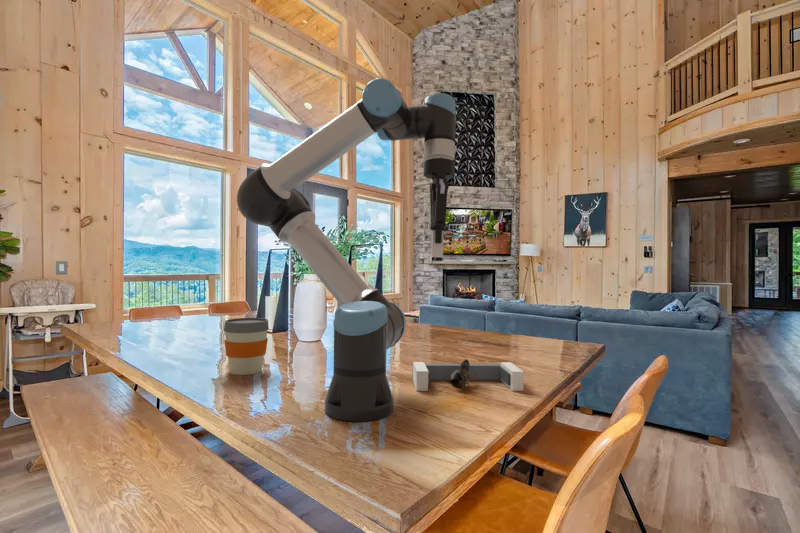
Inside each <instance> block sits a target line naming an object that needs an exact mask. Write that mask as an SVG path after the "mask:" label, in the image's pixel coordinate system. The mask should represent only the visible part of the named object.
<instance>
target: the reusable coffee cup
mask: <svg viewBox="0 0 800 533" xmlns="http://www.w3.org/2000/svg"><path fill="white" fill-rule="evenodd" d="M223 326H224V327H223V332H224V335H225V337H224V338H225V339H224V347H225V349H224V350H225V357H227V360H228V361H227V362H228V369H229V370H228V371H229V373H230V374H232V375H235V376H236V375H237V376H245V375H247V376H248V375H255V374H259V373H260V372H262V370H263V365H264V358H265V357H264V356H265V355H266V354H267V345H268V340H269V339H268V337H267V336H268V331H269V330H270V328H269V319H268V318H263V317H239V318H238V317H236V318H230V319H226V320H224V325H223Z"/></svg>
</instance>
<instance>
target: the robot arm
mask: <svg viewBox="0 0 800 533" xmlns="http://www.w3.org/2000/svg"><path fill="white" fill-rule="evenodd" d="M456 119H457V116H456V100H455V98H454V97H453V96H452V95H451V94H448V93H441V92H440V93H439V92H438V93H433V94H430V95H428V96H427V97H426V98H425V99H424V104H423V105H418V106H410V107H409V106H408V105H407V103H406V102H405V100H404V98H403V97H402V94H401V92H400V90H399V89H397V88H396V86H395V85H394V84H393V83H392V82H391V81H390V80H389V79H386V78H383V77H380V78H378V77H377V78H374V79H372V80H370V81H369V82H368V83H366V85H365V88H364V89H363V91H362V94H361V99H360V100H359V101H357V102H356V103H355V104H354V105H352V106H350V107H349V108H347V109H346V110H345V111H343V112H342V113H341V114H340V115H338V116H336V117H335V118H334V119H332V120H331V121H329V122H328V123H326V124H325V125H324V126H323V127H321V128H319V129H318V130H317V131H316V132H314V133H313V134H311V135H310V136H309V137H307V138H306V139H304V140H303V141H302V142H300V143H299V144H297V145H296V146H295V147H293V148H291V149H290V150H289V151H288V152H286V153H285V154H283V155H282V156H281V157H279V158H278V159H276V160H275V161H273V162H272V163H270V164H269V163H262V164H261V165H260V166H258V167H257V168H256V169H254V170H253V171H252V172H251V173H249V175H247V176H246V178H245V179H243V181H242V182H241V184H240V186H239V187H238V191H237V193H236V194H237V195H236V204H237V207H238V209H239V212H240V213H241V215H242V216H243V217H244V219H246V220H247V221H249V222H251V223H252V224H255V225H259V226H265V227H268V228H270V230H271V231H272V232H273V234H274V235H275V236H276V237H277V239H279V241H280V242H283V243H289V244H290V246H292V247H293V249H294V250H295V252H297V254H298V255H299V256H300V257H301V258H302V260H303V261H304V263H305V264H306V265H307V266H308V268H309V269H310V270H311V271H312V272H313V273H314V274H315V276H316V277H317V278H318V279H319V281H320V282H321V283H322V284H323V286H324V287H325V288H326V289H327V290H328V292H329V293H330V294H331V296H333V298H334V299H335V300H336V301H337V302H338V304H339V306H338V307H337V308H336V309H335V312H334V319H333V324H332V325H333V373H332V374H333V375H332V378H331V382H330V384H329V387H328V390H327V392H326V396H325V399H324V412H325V414H326V415H328V416H329V417H331V418H332V419H336V420H340V421H344V422H345V421H347V422H367V421H375V420H379V419H383V418H385V417H387V416H389V415H390V414H392V412H393V411H394V397H393V396H394V395H393V393H392V390H391V387H390V383H389V379H388V377H387V350H388V349H389V348H390V349H391V348H392V347H394V346H395V345H396V344H397V343H399V342H400V340H401V339H402V338H403V336H404V333H405V331H406V326H407V320H406V316H405V314H404V312H403V310H402V309H401V308H400V307H399V306H398V305H397V304H395V303H394V302H391V301H389V300H388V299H387V298H386V297H385V296H384V295H383V293H382V292H381V291H380V290H379V289H378V288H370V287H369V286H368V284H367V283H366V282H365V280H363V279H362V277H361V276H360V275H359V274H358V273H357V271H356V270H355V269H354V268H353V267H352V265H351V264H350V263H349V262H348V261H347V260H346V259H345V256H343V255H342V254H341V252H340V251H339V250H338V249H337V248H336V246H335V245H334V243H332V241H330V239H329V238H328V237H327V236H326V234H325V233H324V232H323V231H322V230H321V229H320V227H319V226H318V225H317V224H316V223H315V221H316V214H315V213H314V212H313V210H312V208H311V204H310V201H309V200H308V199H309V198H308V197H306V195H305V194H304V193H303V192H300V191H299V190H298V189H296V188H299V186H301V185H302V184H304V183H305V182H307V181H308V180H310V179H311V178H313V177H314V176H315V175H317V174H318V173H319V172H321V171H322V170H324V169H325V168H326V167H329V166H330V165H331V164H332V163H334V162H335V161H337V160H338V159H340V158H341V157H342V156H344V155H345V154H347V153H348V152H350V151H351V150H353V149H354V148H356V147H357V146H358V145H361V143H362V142H364V141H365V140H367V139H368V138H369V137H371V136H373V135H374V134H377V136H378V138H379V139H380V140H382V141H392V142H394V141H395V142H396V141H400V140H401V141H404V140H416V139H417V140H419V139H424V142H423V159H424V162H423V177H424V178H426V179H431V180H432V182H431V183H430V185H429V199H430V205H429V206H430V207H429V208H430V226H429V230H431V242H430V243H431V246H430V247H431V248H430V252H431V253H430V258H444V233H445V232H446V228H445V227H446V225H447V224H446V218H447V203H448V202H447V201H448V193H449V192H448V191H449V188H450V187H449V184H448V183H447V180H449V179H452V178H454V177H455V164H456V163H455V162H454V160H455V157H456V156H455V153H456V152H458V148H457V147H455V144H456V121H457V120H456Z"/></svg>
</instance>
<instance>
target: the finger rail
mask: <svg viewBox="0 0 800 533" xmlns="http://www.w3.org/2000/svg"><path fill="white" fill-rule="evenodd" d="M469 365H470V366H469V371H468V374H469V377H471V376H473V375H474V374H475V373H477V374H476V376H475V377H474V378H472V379H470V380H469V381H475V380H476V381H501V382H502V383H503V384H504V385H505V386H506V387H507V388H508V389H509V390H511V391H512V392H523V391H524V383H525V382H524V381H525V380H524V377H525V376H524V374H525V373H524V372H525V371H523V369H521V368H520V367H518V366H517V365H515V364H514V363H512V362H505V361H502V362H500V363H469ZM460 366H461V363H425V361H413V363H412V372H411V373H412V374H411V376H412V377H411V378H412V381H413V382H412V383H413V385H414V387H415V391H416V392H427V391H429V386H430V383H431V382H430V381H431V380H432V381H434V380H435V381H442V380H443V381H445V380H446V381H450V380H449V378H451V375H452V373H453V372H455V371H456V370H459V371H460ZM466 375H467V373H466V374H465V376H466Z"/></svg>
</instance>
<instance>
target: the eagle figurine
mask: <svg viewBox="0 0 800 533" xmlns="http://www.w3.org/2000/svg"><path fill="white" fill-rule="evenodd" d="M460 364H461V366H460V371H459V370H456V371H455V372H453V373H452V375H451V378H449V380H448V381H451V382H452V381H458V382H459V383H460V384H461V390H464V388H465V387H466V385H468V386H471V385H470V381H471V380H470V379H472V378H474V377H475V376H476V374H477V373H475V374H474V375H473V376H471V377H469V374H468V371H469V366H470V365H469V364H470V362H469V360H468V359H466V358H465V359H464V360H463V361H462V362H461V363H460ZM466 373H467V375H466V376H465V374H466Z"/></svg>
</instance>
